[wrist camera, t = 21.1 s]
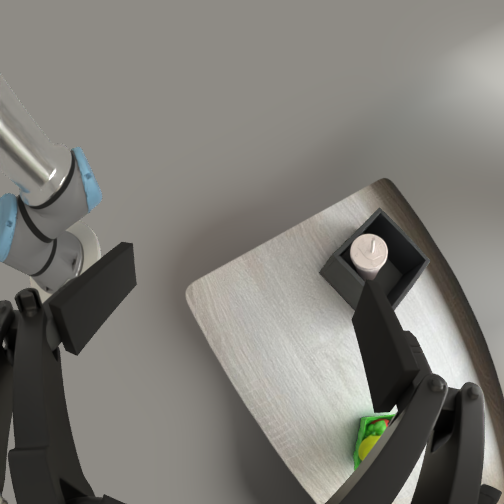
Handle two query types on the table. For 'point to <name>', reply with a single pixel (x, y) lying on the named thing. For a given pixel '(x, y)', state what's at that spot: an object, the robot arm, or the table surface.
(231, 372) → the table surface
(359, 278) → the bin
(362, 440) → the fruit basket
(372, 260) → the smoothie
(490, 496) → the portable speaker
